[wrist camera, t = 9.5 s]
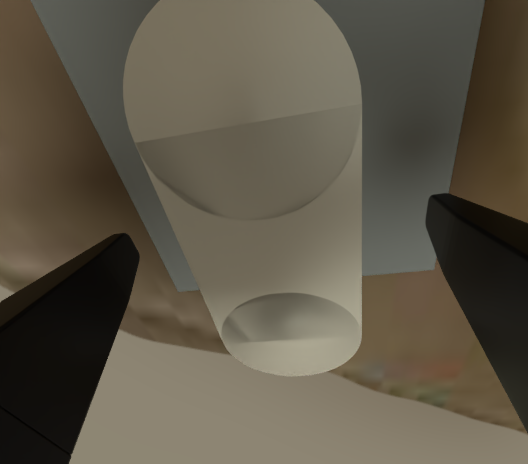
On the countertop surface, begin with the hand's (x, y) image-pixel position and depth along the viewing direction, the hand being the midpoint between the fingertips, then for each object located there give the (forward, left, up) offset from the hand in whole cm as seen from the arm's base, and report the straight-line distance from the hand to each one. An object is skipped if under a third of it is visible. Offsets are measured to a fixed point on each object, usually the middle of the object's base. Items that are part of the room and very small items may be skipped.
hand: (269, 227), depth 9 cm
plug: (0, +1, -5) cm, 5 cm away
